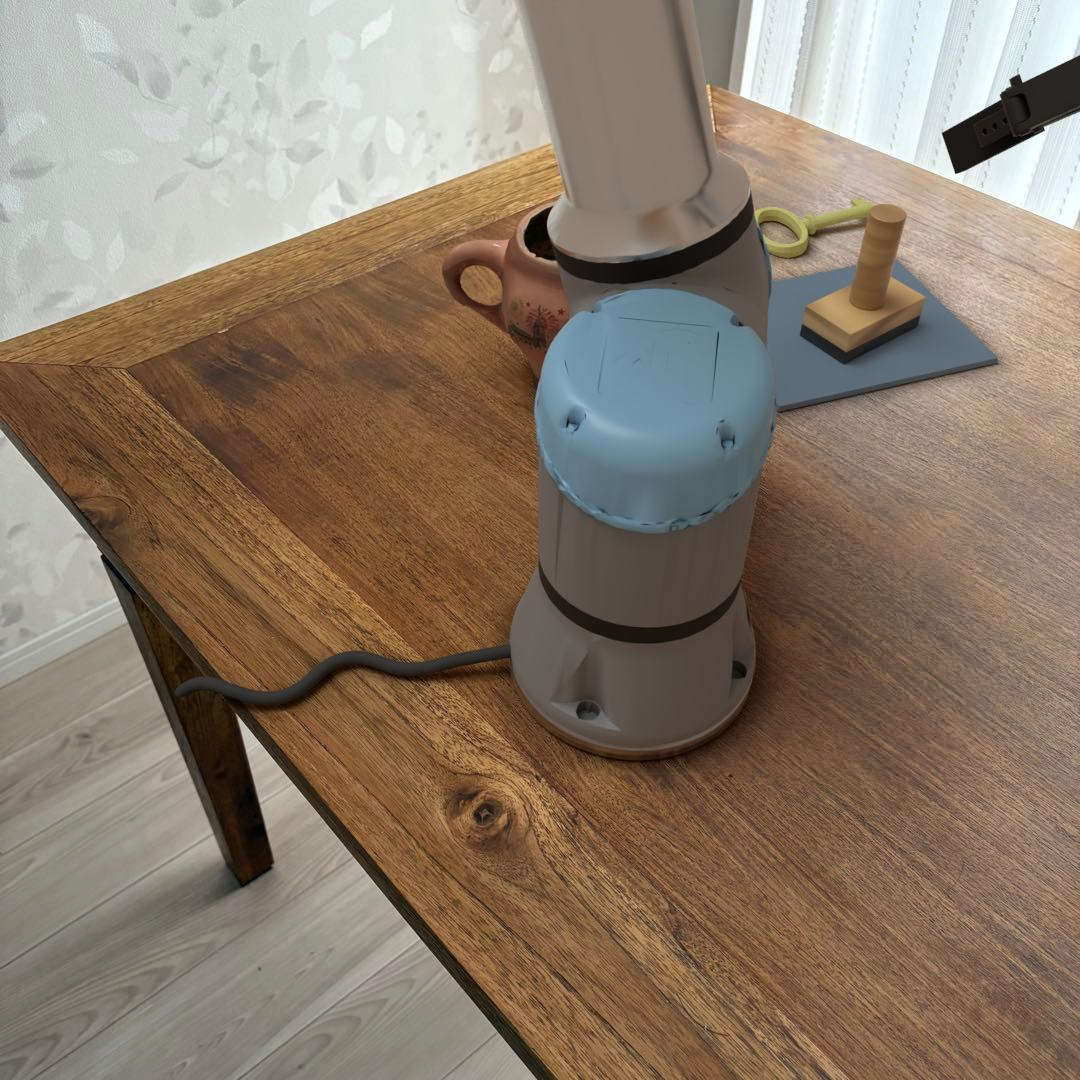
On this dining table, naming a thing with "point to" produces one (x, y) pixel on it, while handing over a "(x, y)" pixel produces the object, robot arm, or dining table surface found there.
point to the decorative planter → (517, 285)
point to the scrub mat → (899, 361)
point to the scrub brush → (866, 296)
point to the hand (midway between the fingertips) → (1028, 128)
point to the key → (807, 224)
